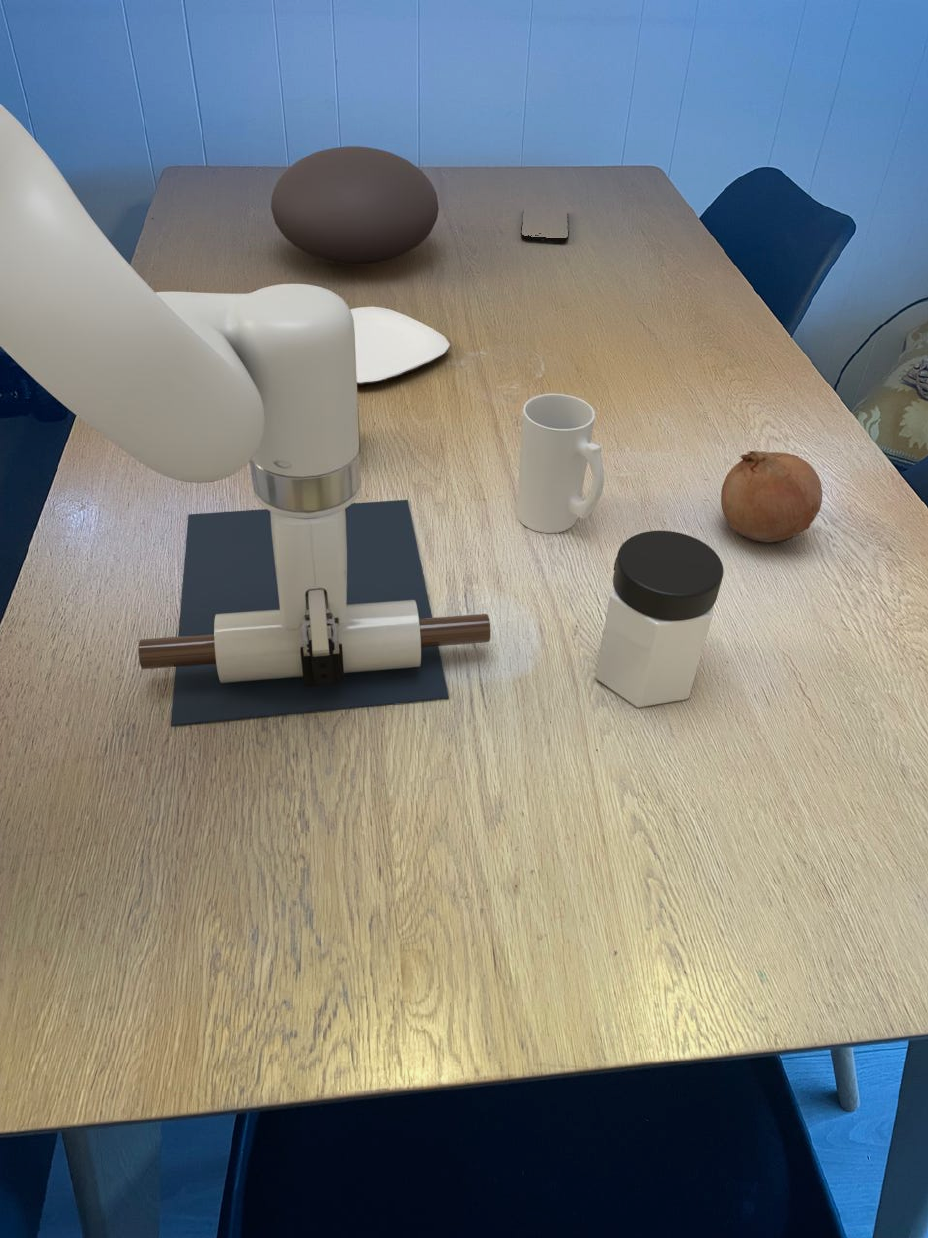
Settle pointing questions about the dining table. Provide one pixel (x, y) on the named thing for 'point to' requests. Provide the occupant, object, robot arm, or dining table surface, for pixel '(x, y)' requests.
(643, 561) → the jar
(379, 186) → the smooth stone
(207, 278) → the dining table surface
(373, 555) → the baking mat
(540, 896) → the dining table surface
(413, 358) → the plate
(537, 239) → the smartphone
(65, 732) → the dining table surface
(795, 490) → the onion
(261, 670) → the rolling pin
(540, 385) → the dining table surface
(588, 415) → the mug
